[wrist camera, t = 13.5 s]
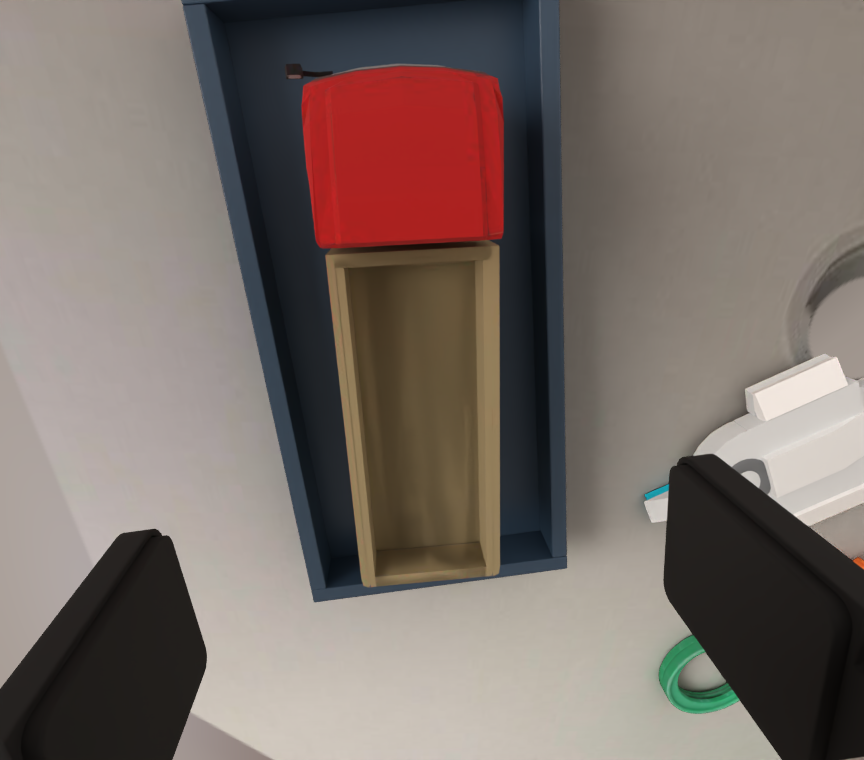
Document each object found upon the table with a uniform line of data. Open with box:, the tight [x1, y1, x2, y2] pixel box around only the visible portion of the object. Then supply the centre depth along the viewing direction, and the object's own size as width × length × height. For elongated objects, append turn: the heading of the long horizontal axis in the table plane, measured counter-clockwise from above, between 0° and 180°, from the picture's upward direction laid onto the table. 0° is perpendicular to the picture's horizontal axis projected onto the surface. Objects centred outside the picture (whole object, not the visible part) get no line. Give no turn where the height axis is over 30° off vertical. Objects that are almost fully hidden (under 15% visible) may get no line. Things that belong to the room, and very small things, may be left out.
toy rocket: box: [644, 353, 864, 526], centre depth 30 cm, size 16×10×2 cm, turn 115°
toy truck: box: [285, 64, 504, 587], centre depth 21 cm, size 7×21×10 cm, turn 3°
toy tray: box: [181, 0, 567, 602], centre depth 25 cm, size 28×14×3 cm, turn 6°
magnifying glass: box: [659, 557, 864, 714], centre depth 35 cm, size 15×6×2 cm, turn 133°
